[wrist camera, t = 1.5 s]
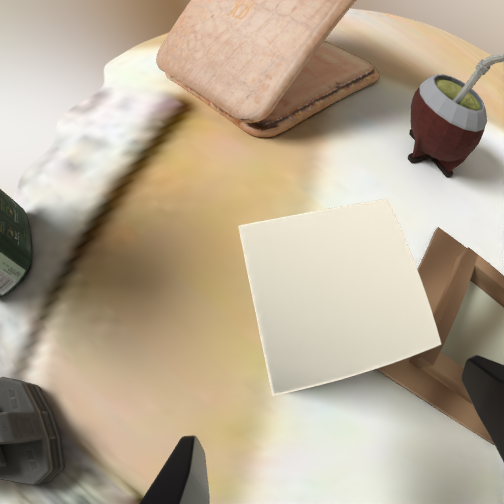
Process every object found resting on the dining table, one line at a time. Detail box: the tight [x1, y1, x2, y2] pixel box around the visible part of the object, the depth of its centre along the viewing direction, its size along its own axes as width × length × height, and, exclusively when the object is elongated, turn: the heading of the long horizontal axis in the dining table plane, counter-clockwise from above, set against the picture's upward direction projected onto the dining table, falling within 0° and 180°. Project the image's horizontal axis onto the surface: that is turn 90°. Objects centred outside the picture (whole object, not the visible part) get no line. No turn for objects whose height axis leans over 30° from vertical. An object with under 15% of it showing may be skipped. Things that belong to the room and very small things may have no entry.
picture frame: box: [377, 227, 504, 445], centre depth 16 cm, size 14×12×2 cm
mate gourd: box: [408, 55, 504, 178], centre depth 18 cm, size 8×8×15 cm
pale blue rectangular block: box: [238, 199, 441, 396], centre depth 13 cm, size 4×4×13 cm
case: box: [156, 0, 379, 137], centre depth 25 cm, size 20×21×16 cm
